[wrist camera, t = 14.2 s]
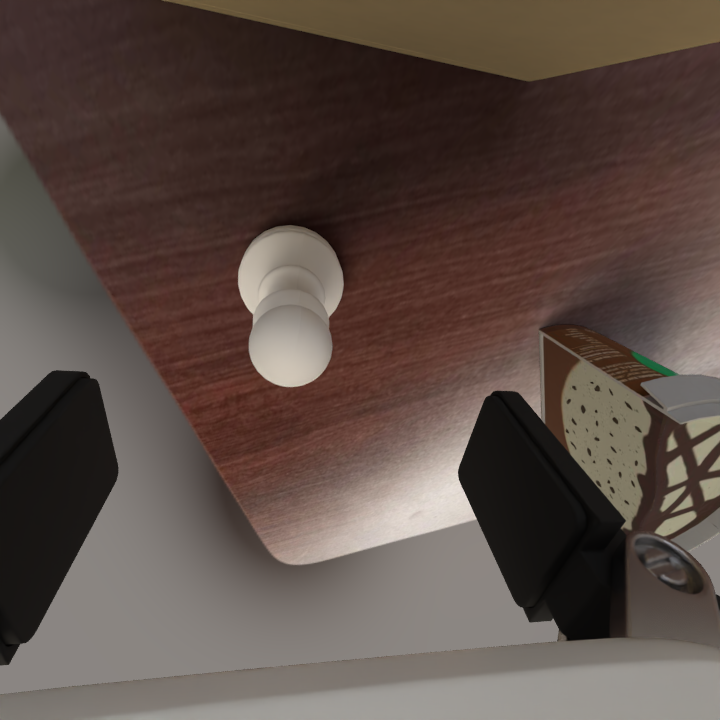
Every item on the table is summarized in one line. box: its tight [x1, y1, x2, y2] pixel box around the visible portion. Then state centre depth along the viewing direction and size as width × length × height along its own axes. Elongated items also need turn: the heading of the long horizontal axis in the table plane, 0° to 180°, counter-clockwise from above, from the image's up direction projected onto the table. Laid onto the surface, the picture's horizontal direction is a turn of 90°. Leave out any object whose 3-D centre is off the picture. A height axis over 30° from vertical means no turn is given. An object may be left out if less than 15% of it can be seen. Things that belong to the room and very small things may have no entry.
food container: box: [539, 325, 720, 552], centre depth 22 cm, size 12×6×10 cm, turn 16°
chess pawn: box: [238, 225, 344, 387], centre depth 16 cm, size 5×5×9 cm
